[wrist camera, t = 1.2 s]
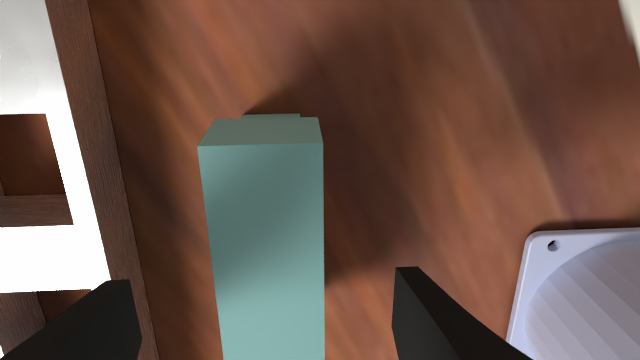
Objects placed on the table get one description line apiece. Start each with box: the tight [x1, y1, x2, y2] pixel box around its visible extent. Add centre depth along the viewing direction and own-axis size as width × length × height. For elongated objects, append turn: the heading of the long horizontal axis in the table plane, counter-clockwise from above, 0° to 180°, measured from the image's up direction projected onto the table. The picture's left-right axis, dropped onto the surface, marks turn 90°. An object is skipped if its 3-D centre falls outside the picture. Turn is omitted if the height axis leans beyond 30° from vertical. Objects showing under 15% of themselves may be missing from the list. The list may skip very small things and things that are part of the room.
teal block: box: [197, 113, 325, 360], centre depth 14 cm, size 3×9×5 cm, turn 0°
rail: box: [0, 0, 159, 360], centre depth 15 cm, size 5×24×2 cm, turn 1°
